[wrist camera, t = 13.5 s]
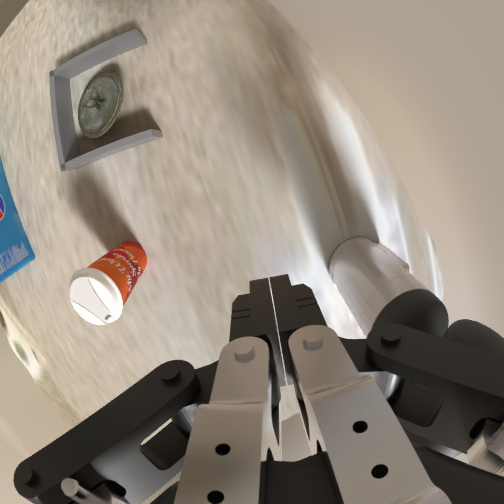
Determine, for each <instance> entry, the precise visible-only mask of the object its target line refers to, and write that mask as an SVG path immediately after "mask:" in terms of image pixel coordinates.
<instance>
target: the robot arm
mask: <svg viewBox="0 0 504 504" xmlns="http://www.w3.org/2000/svg"><path fill="white" fill-rule="evenodd" d="M329 272H330V276H331V279H332V281H333V282H334V284H335V286H336V288H337V289H338V290H339V292H340V294H341V296H342V297H343V299H344V301H345V302H346V304H347V306H348V307H349V309H350V311H351V312H352V314H353V316H354V317H355V319H356V321H357V323H358V324H359V326H360V328H361V329H362V331H363V333H364V335H365V336H366V338H367V339H345V338H341V337H338V336H337V334H336V333H335V331H334V330H333V329H331V328H329V327H328V326H327V324H326V322H325V319H324V317H323V315H322V312H321V310H320V308H319V305H318V304H317V301H316V298H315V296H314V294H313V291H312V289H311V288H309V287H308V286H306V285H305V284H299V285H293V286H291V283H290V279H289V276H288V274H285V275H280V276H274V277H270V283H271V289H272V295H273V300H274V306H275V312H276V318H277V324H278V330H279V336H280V342H281V347H282V353H283V359H284V365H285V371H286V377H287V383H288V385H291V384H294V387H295V392H296V399H297V405H298V408H299V412H300V415H301V419H302V422H303V426H304V429H305V433H306V436H307V440H308V443H309V447H310V452H311V456H309V457H307V458H304V459H302V460H299V461H295V462H285V461H282V452H281V404H280V399H281V393H280V386H286V383H285V376H284V370H283V363H282V357H281V351H280V344H279V338H278V332H277V325H276V320H275V314H274V308H273V303H272V297H271V292H270V286H269V281H268V278H264V279H258V280H252V281H250V294H244V295H238V297H237V298H236V299H235V301H234V302H233V303H232V315H231V327H230V339H229V343H228V344H227V345H226V346H225V347H224V348H223V349H222V351H221V353H220V357H219V360H218V361H216V362H214V363H212V364H210V365H207V366H204V367H201V368H198V369H194V367H193V366H192V365H191V364H190V363H189V362H187V361H183V360H172V361H168V362H166V363H163V364H161V365H160V366H158V367H157V368H155V369H154V370H153V371H151V372H150V373H149V374H147V375H146V376H145V377H143V378H142V379H141V380H139V381H138V382H137V383H135V384H134V385H133V386H131V387H130V388H128V389H127V390H126V391H124V392H123V393H122V394H120V395H119V396H118V397H116V398H115V399H113V400H112V401H111V402H109V403H108V404H106V405H105V406H104V407H102V408H101V409H99V410H98V411H97V412H95V413H94V414H92V415H91V416H90V417H88V418H87V419H85V420H84V421H82V422H81V423H79V424H78V425H77V426H75V427H74V428H72V429H71V430H69V431H68V432H66V433H65V434H63V435H62V436H61V437H59V438H58V439H56V440H55V441H53V442H52V443H50V444H49V445H47V446H46V447H44V448H42V449H41V450H39V451H38V452H36V453H35V454H33V455H32V456H30V457H29V458H27V459H25V460H24V461H22V462H21V463H20V464H19V465H18V467H17V468H16V470H15V473H14V485H15V488H16V490H17V491H18V493H19V494H20V495H22V496H23V497H25V498H26V499H27V500H29V501H30V502H32V503H34V504H141V503H142V502H143V501H145V500H146V499H147V498H149V497H150V496H151V495H152V494H154V493H155V492H156V491H157V490H159V489H160V488H161V487H162V486H164V485H165V484H166V483H167V482H168V481H170V480H171V479H172V478H173V477H174V476H176V474H178V473H179V472H180V471H181V470H182V471H181V475H180V480H179V481H178V482H176V483H174V484H173V485H172V486H170V487H169V488H168V489H166V490H165V491H164V492H163V493H162V494H161V495H160V496H158V497H157V498H156V499H155V500H154V501H152V502H151V503H150V504H504V338H502V337H501V336H500V335H499V334H498V333H496V332H495V331H493V330H492V329H490V328H489V327H487V326H485V325H483V324H481V323H479V322H476V321H472V320H468V319H462V320H458V321H456V322H454V323H453V324H451V325H450V326H449V328H448V321H449V320H448V313H447V310H446V308H445V306H444V304H443V303H442V302H441V301H440V300H439V299H438V298H437V297H436V296H435V295H434V294H433V293H432V292H431V291H430V290H428V289H427V288H426V287H425V286H424V285H423V284H422V283H421V282H419V281H418V280H417V279H416V278H415V277H414V276H413V275H412V274H410V273H409V265H408V264H407V263H406V262H404V261H403V260H402V259H401V258H400V257H398V256H397V255H396V254H395V253H393V252H392V251H391V250H389V249H388V248H387V247H386V246H384V245H383V244H382V243H380V242H377V243H374V242H372V241H371V240H369V239H366V238H361V237H357V238H352V239H349V240H347V241H345V242H344V243H342V244H341V245H340V246H339V247H338V248H337V249H336V250H335V252H334V253H333V255H332V257H331V260H330V264H329ZM170 418H171V419H172V422H170V423H169V424H168V425H167V426H166V427H164V428H163V429H162V430H161V431H160V432H158V433H157V434H156V435H155V436H154V437H152V438H151V439H150V440H149V441H147V442H146V443H145V444H143V445H141V443H142V442H143V440H144V439H146V438H147V437H148V436H149V435H151V434H152V433H153V432H154V431H156V430H157V429H158V428H159V427H160V426H162V425H163V424H164V423H165V422H166V421H168V420H169V419H170ZM461 453H465V454H467V458H468V464H467V463H464V462H461V461H459V460H456V459H454V457H456V456H458V455H459V454H461Z"/></svg>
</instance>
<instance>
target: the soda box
mask: <svg viewBox="0 0 504 504" xmlns="http://www.w3.org/2000/svg"><path fill="white" fill-rule="evenodd" d="M34 258H35V254H34V252H33V250H32V248H31V245H30V243H29V241H28V238H27V236H26V233H25V231H24V228H23V226H22V223H21V221H20V218H19V215H18V213H17V210H16V207H15V204H14V202H13V199H12V196H11V193H10V190H9V187H8V183H7V180H6V177H5V173H4V170H3V166H2V162H1V158H0V283H2V282H3V281H4V280H6V279H7V278H8V277H10V276H11V275H12V274H14V273H15V272H17V271H18V270H20V269H21V268H22V267H24V266H25V265H27V264H28V263H29V262H31V261H32V260H33V259H34Z"/></svg>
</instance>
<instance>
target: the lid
mask: <svg viewBox="0 0 504 504" xmlns="http://www.w3.org/2000/svg"><path fill="white" fill-rule="evenodd" d="M122 100H123V84H122V80H121V78H120V75H119V74H118V73H117V72H115V71H105V72H103V73H101V74H99V75H98V76H96V77H95V78H94V79H93V80H92V81H91V82H90V83H89V84H88V86H87V87H86V89H85V91H84V93H83V95H82V98H81V100H80V103H79V108H78V120H79V126H80V128H81V130H82V132H83V133H84V135H85V136H87V137H89V138H93V139H94V138H98V137H100V136H102V135H103V134H104V133H105V132H107V131H108V130H109V129H110V127H111V126H112V125H113V123H114V121H115V120H116V118H117V116H118V113H119V111H120V108H121V104H122Z"/></svg>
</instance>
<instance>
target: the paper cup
mask: <svg viewBox="0 0 504 504" xmlns="http://www.w3.org/2000/svg"><path fill="white" fill-rule="evenodd" d="M146 264H147V257H146V254H145V251H144V250H143V249H142V247H141V246H139V245H138V244H136V243H134V242H125V243H123V244H121V245H119V246H118V247H116V248H114V249H113V250H111V251H110V252H108V253H107V254H105V255H104V256H103V257H101V258H100V259H98V260H97V261H95V262H94V263H93V264H91V265H90V266H88V267H87V268H83V269H80V270H78V271H76V272H75V273H74V274H73V276H72V278H71V283H70V299H71V303H72V305H73V307H74V309H75V310H76V311H77V313H78V314H79V315H80V316H81V317H82V318H83V319H85V320H86V321H88V322H90V323H92V324H96V325H105V324H107V323H110V322H113V321H115V320H116V319H118V317H119V316H120V315H121V312H122V309H123V305H124V303H125V302H126V300H127V298H128V297H129V295H130V293H131V291H132V289H133V288H134V286H135V284H136V283H137V281H138V279H139V278H140V276H141V274H142V273H143V271H144V269H145V267H146Z"/></svg>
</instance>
